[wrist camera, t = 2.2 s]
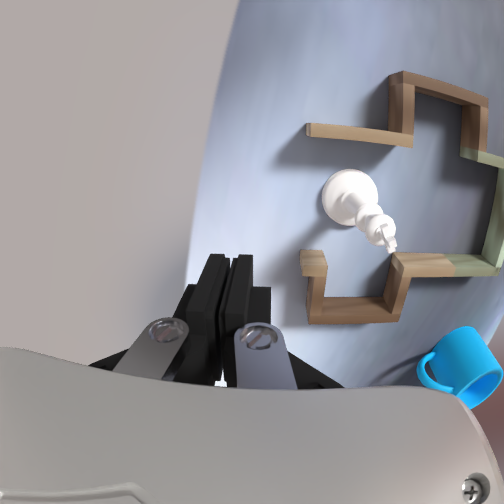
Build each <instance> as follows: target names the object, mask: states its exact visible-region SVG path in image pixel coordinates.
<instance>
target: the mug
mask: <svg viewBox="0 0 504 504" xmlns="http://www.w3.org/2000/svg"><path fill="white" fill-rule="evenodd" d="M427 361H429V365H430V367H431V369H432V371H433V374H434V376H435V378H436V380H437V382H438V383H437V382H435V381H434V380H432V379H431V378H430V377H429V376H428V375H427V373H426V372H425V368H424V366H425V363H426V362H427ZM417 375H418V378H419V380H420V381H421V383H422V384H423V385H424V386H426V387H427V388H432V389H438V390H441V391H445V392H448V393H450V394H453V395H455V396H456V397H458V398H459V399H461V400H462V401H463V402H464V403H465V404H466V405H467V407H468V408H469V409H472V408H474V407H475V406H477V405H478V404H480V403H481V402H482V401H484V400H485V399H486V398H487V397H489V396H490V395H491V394H492V393H493V391H494V390H495V389H496V388H497V387H498V385H499V384H500V382H501V380H502V377H503V370H502V368H501V367H500V365H499V364H498V362H497V361H496V359H495V357H494V356H493V354H492V353H491V351H490V350H489V348H488V347H487V345H486V344H485V343H484V341H483V340H482V338H481V337H480V335H479V334H478V333H477V331H476V330H475V329H474V328H473V327H469V326H464V327H460V328H458V329H455V330H453V331H451V332H450V333H449V334H447V335H446V336H444V337H443V338H442V339H441V340H440V341H439V342H438V343H437V345H436V346H435V347H434V349H433V350H432V352H431V353H429V354H427V355H425V356H424V357H423V358H422V359H421V360H420V361H419V363H418V366H417Z"/></svg>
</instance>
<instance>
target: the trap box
mask: <svg viewBox="0 0 504 504" xmlns="http://www.w3.org/2000/svg"><path fill="white" fill-rule="evenodd" d="M388 77H389V105H388V131H383V130H376V129H369V128H361V127H352V126H342V125H331V124H318V123H306V135H307V136H310V137H321V138H334V139H346V140H356V141H365V142H373V143H381V144H389V145H396V146H402V147H408V148H413V133H414V106H415V92H417V93H421V94H425V95H429V96H432V97H436V98H440V99H443V100H447V101H450V102H453V103H456V104H459V105H462V125H461V142H460V154H459V156H460V157H464V158H467V159H470V160H474V161H477V162H480V163H484V164H488V165H492V166H495V167H499V170H498V177H497V184H496V191H495V196H494V202H493V207H492V212H491V217H490V222H489V226H488V230H487V234H486V238H485V242H484V246H483V250H482V253H481V255H469V254H436V253H402V252H393V254H392V259H391V263H390V268H389V272H388V277H387V281H386V285H385V289H384V293H383V297H324V291H325V284H326V277H327V269H328V265H327V262H326V259H325V256H324V253H323V251H322V250H300V265H301V270H302V276H309V281H308V290H307V299H306V310H307V317H308V324H362V323H387V322H398V321H399V318H400V315H401V311H402V308H403V305H404V302H405V298H406V295H407V291H408V288H409V284H410V281H411V277H467V276H498V275H499V272H500V269H501V266H502V263H503V259H504V158H502V157H499V156H496V155H492V154H489V153H486V147H487V132H488V98H486V97H484V96H482V95H479V94H476V93H474V92H471V91H469V90H466V89H463V88H460V87H457V86H455V85H452V84H449V83H445V82H442V81H439V80H436V79H432V78H429V77H425V76H422V75H418V74H414V73H410V72H406V71H401V72H398V73H394V74H391V75H389V76H388Z"/></svg>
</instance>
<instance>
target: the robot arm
mask: <svg viewBox="0 0 504 504" xmlns="http://www.w3.org/2000/svg"><path fill="white" fill-rule="evenodd" d="M222 370H223V372H224V381H226V382H227V387H220V386H214V385H215V381H220V380H221V376H222ZM0 504H504V482H503V479H502V476H501V473H500V470H499V467H498V464H497V461H496V459H495V456H494V454H493V452H492V449H491V447H490V444H489V442H488V440H487V438H486V436H485V434H484V432H483V430H482V428H481V426H480V424H479V423H478V421H477V419H476V418H475V416H474V414H473V413H472V412H471V411H470V409H469V408H468V407H467V405H466V404H465V403H464V402H463V401H462V400H461V399H459V398H458V397H456V396H455V395H453V394H450V393H448V392H445V391H441V390H438V389H432V388H426V387H419V386H376V387H357V388H344V387H343V386H342V385H340V384H339V383H337V382H336V381H334V380H333V379H331V378H329V377H328V376H326V375H324V374H323V373H321V372H320V371H318V370H316V369H315V368H313V367H312V366H310V365H309V364H307V363H305V362H304V361H302V360H301V359H299V358H298V357H296V356H295V355H293V354H291V353H290V352H288V351H287V348H286V345H285V341H284V337H283V335H282V333H281V331H280V330H279V329H278V328H277V327H275V326H273V325H271V287H253V255H241V254H239V256H238V258H233V261H232V265H231V268H230V258H225V255H224V254H210V256H209V258H208V260H207V262H206V265H205V267H204V269H203V271H202V274H201V276H200V278H199V280H198V283H197V284H188V286H187V288H186V290H185V292H184V294H183V296H182V298H181V300H180V302H179V304H178V306H177V309H176V311H175V313H174V315H173V317H172V318H170V317H168V318H161V319H158V320H155V321H153V322H152V323H150V324H149V325H148V326H147V327H146V328H145V329H144V331H143V332H142V333H141V334H140V336H139V337H138V338H137V340H136V341H135V342H134V343H133V345H132V346H131V347H130V348H129V349H127V350H124V351H121V352H119V353H117V354H114V355H112V356H109V357H107V358H104V359H102V360H99V361H97V362H95V363H92V364H90V365H88V366H86V365H82V364H78V363H74V362H70V361H66V360H63V359H59V358H55V357H52V356H48V355H44V354H40V353H37V352H33V351H29V350H25V349H19V348H10V347H0Z"/></svg>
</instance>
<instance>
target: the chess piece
mask: <svg viewBox="0 0 504 504" xmlns="http://www.w3.org/2000/svg"><path fill="white" fill-rule="evenodd" d="M377 202H378V193H377V189H376V186H375V184H374V183H373V181H372V180H371V178H370V177H369V176H368V175H367V174H365V173H364V172H362V171H360V170H356V169H344V170H340V171H338V172H336V173H335V174H333V175H332V176H331V177H330V178H329V179H328V180H327V182H326V183H325V185H324V188H323V191H322V204H323V207H324V210H325V212H326V213H327V215H328V216H329V217H330V218H331V219H333V220H334V221H335V222H337V223H339V224H341V225H345V226H355V225H356V226H357V228H358V229H359V230H361V231H362V232H365V235H366V238H367V240H368V241H369V242H370V243H371V244H373V245H375V246H383V245H385V246H386V250H387V252H388V253H389V254H390V253H392V252H394V251H396V250H395V247H397V243H396V240H395V238H394V235H395V230H396V228H395V223H394V221H393V220H392V219H391V218H390V217H389V216H387V215H384V214H383V211H382V209H381V208H380V206H378V205H377Z"/></svg>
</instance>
